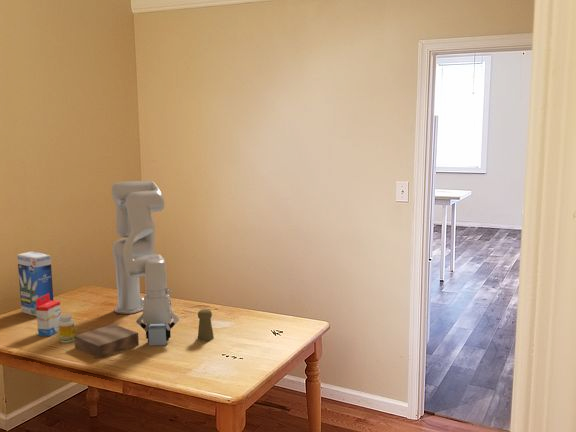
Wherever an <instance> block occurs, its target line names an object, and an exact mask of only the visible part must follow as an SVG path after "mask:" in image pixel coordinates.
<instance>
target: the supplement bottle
mask: <svg viewBox="0 0 576 432" xmlns="http://www.w3.org/2000/svg"><path fill="white" fill-rule="evenodd" d="M60 320H61V321H60V322H59V331H58V332H59V341H60V342H61V343H63V344H64V343H71V342H75V339H74V336H76V334H75V321H74V320H73V315H72V313H71V314H70V313H67V314H65V313H64V314H61V316H60Z"/></svg>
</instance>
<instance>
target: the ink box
mask: <svg viewBox="0 0 576 432" xmlns="http://www.w3.org/2000/svg"><path fill="white" fill-rule="evenodd" d="M43 298H45V300H43V301H41V300H42V299H43ZM36 311H37V316H36V322H37V323H36V324H37V333H38V336H39V337H51V336H53V335H54V334H56V333H57V332H59V322H60V321H61V320H60V316H61V315H62V314H61V313H62V311H61V301H60V300H53V301H52V300H49V293H48V294H46V295H44V296H42V297H40V298H38V299H36Z"/></svg>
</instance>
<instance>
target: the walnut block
mask: <svg viewBox="0 0 576 432" xmlns="http://www.w3.org/2000/svg"><path fill="white" fill-rule="evenodd" d="M74 339H75V340H74V348H75V349H76V350H79V351H81V352H83V351H84V353H86V354H88V355H91V356H93V357H94V358H97V359H100V360H101V359H103V358H106V357H107V358H108V357H110V356H111V355H114V354H115V355H116V354H118V353H121V352H123V351H126V350H130V349H132V348H134V347H137V346H140V343H139V342H140V341H139V332H136V331H134V330H132V329H129V328H125V327H122V326H120V325H117V324H114V323H112V324H108V325H105V326H104V325H103V326H102V327H99V328H95V329H92V330H89V331H85V332H82V333H79V334H77V335H76V334H75V336H74Z"/></svg>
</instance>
